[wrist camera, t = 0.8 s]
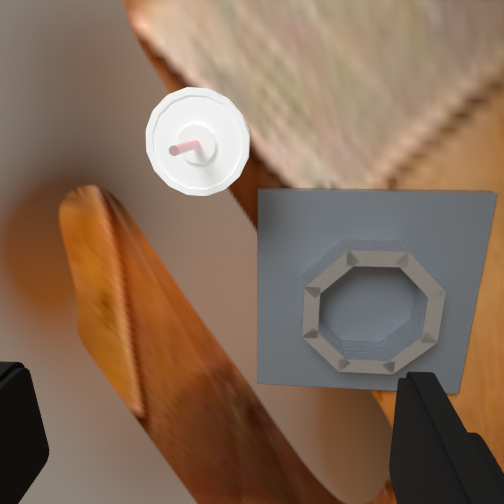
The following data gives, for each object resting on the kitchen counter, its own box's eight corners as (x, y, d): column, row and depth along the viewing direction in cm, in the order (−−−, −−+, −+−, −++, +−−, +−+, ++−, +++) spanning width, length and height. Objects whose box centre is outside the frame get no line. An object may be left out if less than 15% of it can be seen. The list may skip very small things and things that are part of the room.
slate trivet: (258, 187, 33) (257, 190, 32) (489, 190, 31) (497, 193, 30) (257, 375, 38) (257, 383, 37) (453, 385, 37) (458, 394, 36)
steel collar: (304, 237, 33) (305, 248, 30) (438, 240, 32) (452, 252, 29) (299, 350, 36) (300, 370, 33) (420, 355, 35) (432, 376, 32)
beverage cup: (190, 180, 33) (126, 222, 20) (176, 101, 31) (93, 90, 18) (264, 170, 32) (248, 207, 19) (254, 89, 30) (228, 68, 17)
